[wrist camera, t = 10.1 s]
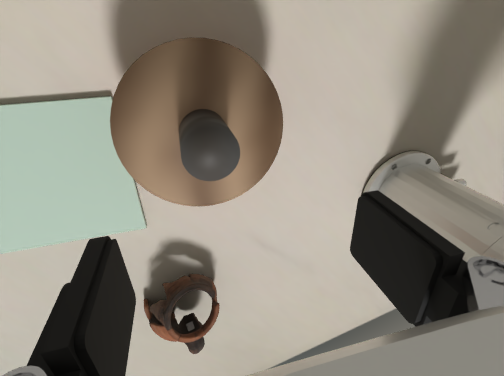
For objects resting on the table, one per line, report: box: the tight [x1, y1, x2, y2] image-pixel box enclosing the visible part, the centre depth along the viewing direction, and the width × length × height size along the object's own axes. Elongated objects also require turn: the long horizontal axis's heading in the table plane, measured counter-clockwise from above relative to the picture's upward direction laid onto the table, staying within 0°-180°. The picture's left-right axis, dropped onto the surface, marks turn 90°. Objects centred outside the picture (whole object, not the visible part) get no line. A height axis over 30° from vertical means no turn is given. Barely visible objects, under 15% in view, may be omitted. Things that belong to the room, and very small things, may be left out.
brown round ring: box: [144, 274, 219, 354], centre depth 38 cm, size 12×10×8 cm
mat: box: [0, 96, 147, 254], centre depth 28 cm, size 15×15×1 cm
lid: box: [110, 38, 283, 206], centre depth 21 cm, size 14×14×6 cm
